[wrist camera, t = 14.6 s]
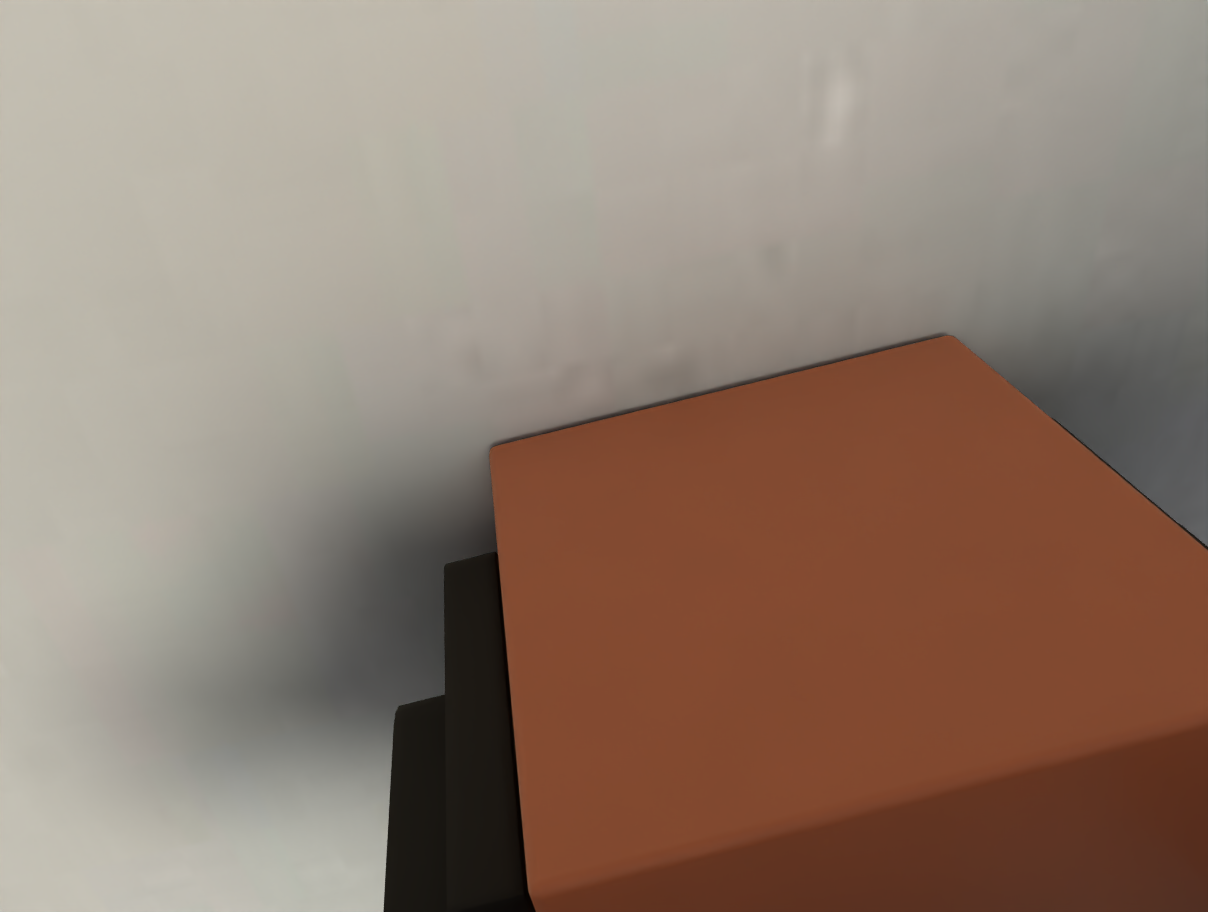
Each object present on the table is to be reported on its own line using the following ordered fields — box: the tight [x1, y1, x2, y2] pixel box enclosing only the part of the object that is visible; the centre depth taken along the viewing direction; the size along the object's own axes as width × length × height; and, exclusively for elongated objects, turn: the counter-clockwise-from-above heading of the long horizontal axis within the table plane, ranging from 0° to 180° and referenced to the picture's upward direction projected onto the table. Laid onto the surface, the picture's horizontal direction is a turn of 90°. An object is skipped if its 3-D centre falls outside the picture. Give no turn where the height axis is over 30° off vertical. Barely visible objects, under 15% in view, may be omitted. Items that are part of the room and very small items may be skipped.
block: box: [489, 336, 1208, 912], centre depth 9 cm, size 5×5×5 cm
